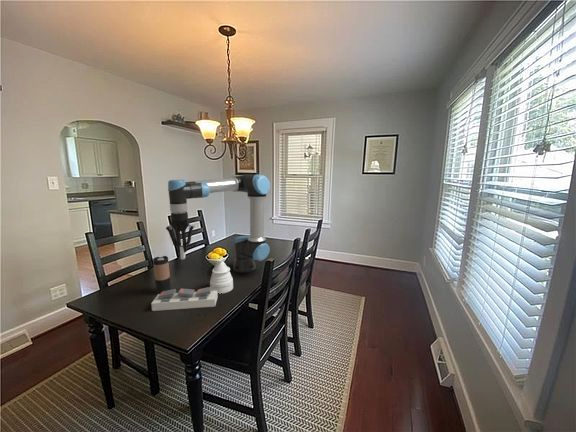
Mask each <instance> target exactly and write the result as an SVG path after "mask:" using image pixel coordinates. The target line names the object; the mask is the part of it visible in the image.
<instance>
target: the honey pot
mask: <svg viewBox="0 0 576 432" xmlns="http://www.w3.org/2000/svg"><path fill="white" fill-rule="evenodd" d="M230 271H231V268H230V267H229V266H227V264H226V263H225V262H224V261H223V259H217V262H216V264H215V266H214V268H212V271H211V272H212V273H211V277H210V280H209V287H212V291H217V295H219V294H220V295H221V293H222V294H226V293H229V292H231V291H232V290H233V289H234V279H233V276H232V274H231V272H230ZM218 293H219V294H218Z"/></svg>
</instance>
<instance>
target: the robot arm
mask: <svg viewBox="0 0 576 432" xmlns="http://www.w3.org/2000/svg"><path fill="white" fill-rule="evenodd" d="M167 184H168V185H167V187H168V188H167V189H168V197H169V210H170V212H171V213H170V219H171V220H170V225H168V226H166V227H165V229H166V231H167V232H168V234H169V238H170V239H171V242H172V245H173V246H176V247H177V252H178V253H179V254H180V255H179V256H180V260H185V259H186V253H187V251H188V247H187V246H189V245H190V244H191V241H192V235H193V230H194V228H195V225H193V224H191V223H190V221H189V214H188V203H187V201H188V200H190V199H203V198H206V197H207V198H208V197H209V195H210V194H214V193H215V194H216V193H223V192H231V191H232V192H233V193H235V192H236V193H237V192H241V193H247V194H246V195H247V198H248V199H249V235H240V236H238V237H235V238H234V255H235V256H234V257H235V259H234V263H233V266H232V269H233V271H234V272H236V273H239V274H240V273H241V274H244V273H245V274H246V273H250V272H253V271H254V270H255V269H256V263H255V261H259V262H261V261H264V260H265V259H267V257H268V256H269V254H270V251H271V249H270V246H269V244H267V238H266V237H265V236H264V233H265V231H264V228H265V226H264V225H265V224H264V221H265V220H264V219H265V217H264V215H265V214H264V212H265V211H264V209H265V201H264V200H265V199H266V198H267V194H268V193H269V192H270V189H271V183H270V180H269V179H268V178H267V176H265V175H264V174H260V173H259V174H249V173H248V174H247V173H246V174H241V175H236V176H235V175H233V176H231V177H230V178H229V177H228V178H219V179H207V180H194V181H193V180H192V181H185V179H170V180H168V182H167ZM187 228H188V232H187V233H186V231H187ZM173 229H174V230H175V233H174V230H173ZM254 260H255V261H254Z"/></svg>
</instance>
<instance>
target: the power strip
mask: <svg viewBox="0 0 576 432" xmlns="http://www.w3.org/2000/svg"><path fill="white" fill-rule="evenodd" d="M196 293H197V291H194V294H193V296H192V297H183V296H178V292H176V293H175V295H174V296H172V297H168V298H163V299H159V297H158V296H159V295H160V294H157V295H156V297H155V298H154V299H153V301H152V302H151V303H150V305H151V311H152V312H157V311H159V312H160V311H171V310H185V309H199V308H200V309H201V308H213V307H216V305H217V301H218V296H219V294H217V291H211V293H210V294H207V295H203V296H199V297H196Z"/></svg>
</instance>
